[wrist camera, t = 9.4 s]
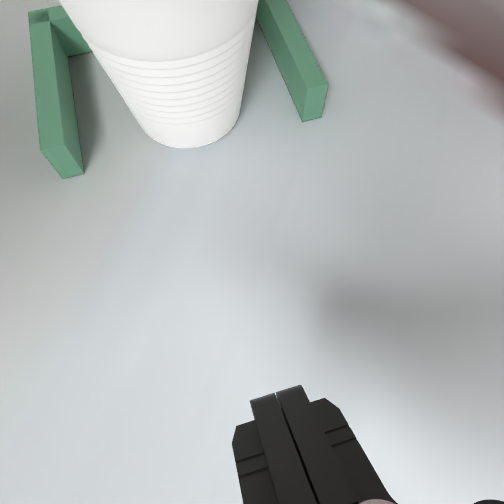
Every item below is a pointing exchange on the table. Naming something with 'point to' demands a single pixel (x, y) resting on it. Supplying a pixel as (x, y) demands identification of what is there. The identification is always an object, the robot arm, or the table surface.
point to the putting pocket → (72, 43)
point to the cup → (172, 61)
